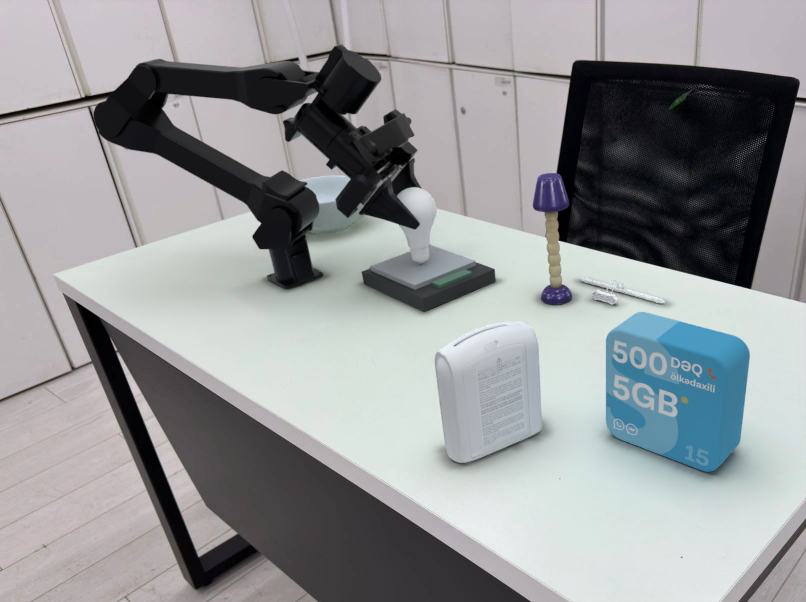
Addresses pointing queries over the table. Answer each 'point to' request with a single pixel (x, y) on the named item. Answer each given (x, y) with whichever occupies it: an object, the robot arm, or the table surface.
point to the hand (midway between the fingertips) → (425, 219)
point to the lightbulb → (425, 213)
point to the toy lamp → (552, 233)
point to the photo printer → (489, 389)
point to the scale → (428, 278)
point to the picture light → (612, 297)
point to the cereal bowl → (330, 204)
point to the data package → (676, 389)
